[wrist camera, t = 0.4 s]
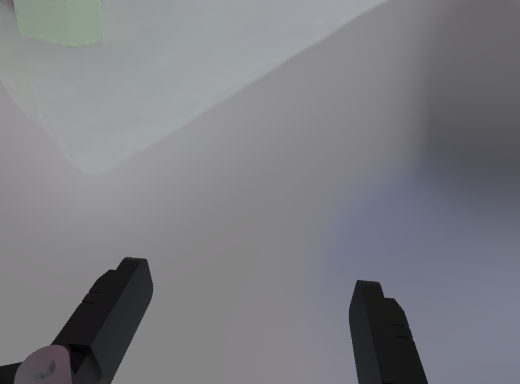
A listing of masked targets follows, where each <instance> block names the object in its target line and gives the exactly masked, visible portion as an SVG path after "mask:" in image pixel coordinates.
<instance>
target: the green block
mask: <svg viewBox="0 0 520 384" xmlns="http://www.w3.org/2000/svg"><path fill="white" fill-rule="evenodd" d="M13 1H14V7H15V13H16V18H17V24H18V30H19V35H21V36H25V37H29V38H33V39H38V40H42V41H46V42H50V43H54V44H58V45H62V46H66V47H70V48H72V47H77V46H82V45H88V44H93V43H98V42H103V41H104V38H103V16H102V0H13Z"/></svg>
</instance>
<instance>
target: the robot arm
mask: <svg viewBox="0 0 520 384" xmlns="http://www.w3.org/2000/svg"><path fill="white" fill-rule="evenodd" d="M152 293H153V283H152V279H151V274H150V270H149V266H148V262H147V260H146V259H142V258H132V257H126V258H124V259H123V260H122V262H121V263H120V265H119V266H118V268H117V269H116V270H109V271H107V272H106V273H105V274H104V275H102V276H101V277H100V278H99V279H97V281H96V282H95V283H94V285H93V287H92V288H91V289H90V290H89V293H88V294H87V295H86V296H85V297H84V299H83V300H82V303H81V304H80V305H79V306H78V308H77V309H76V310H75V312H74V313H73V314H72V316H71V317H70V319H69V320H68V321H67V323H66V324H65V326H64V327H63V329H62V330H61V331H60V333H59V334H58V336H57V337H56V338H55V340H54V341H53V342H52V344H51V345H50V346H46V347H43V348H41V349H39V350H37V351H35V352H33V353H32V354H31V355H29V356H28V357H27V358H26V359H25V360H24V361H23V362H19V363H15V364H10V365H5V366H0V384H111V382H112V380H113V378H114V375H115V373H116V371H117V369H118V367H119V365H120V363H121V361H122V359H123V357H124V355H125V353H126V351H127V349H128V347H129V345H130V343H131V340H132V338H133V336H134V334H135V332H136V330H137V328H138V326H139V324H140V322H141V320H142V318H143V316H144V313H145V311H146V309H147V307H148V305H149V303H150V301H151V298H152ZM349 324H350V331H351V337H352V343H353V351H354V357H355V364H356V369H357V377H358V382H359V384H428V382H427V379H426V376H425V373H424V370H423V367H422V364H421V361H420V358H419V355H418V352H417V349H416V346H415V343H414V341H413V337H412V334H411V331H410V329H409V325H408V322H407V318H406V315H405V313H404V311H403V310H402V308H401V307H400V306H399V304H398V303H397V302H396V300H395V299H393V298H384V295H383V292H382V288H381V285H380V283H379V282H374V281H363V280H357V282H356V285H355V289H354V293H353V296H352V300H351V304H350V308H349Z"/></svg>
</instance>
